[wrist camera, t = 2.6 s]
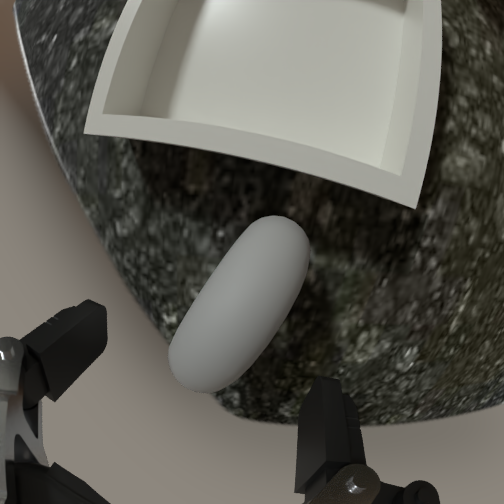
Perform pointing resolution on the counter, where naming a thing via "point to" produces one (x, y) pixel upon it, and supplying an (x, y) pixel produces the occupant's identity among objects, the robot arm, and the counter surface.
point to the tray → (281, 85)
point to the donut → (240, 305)
